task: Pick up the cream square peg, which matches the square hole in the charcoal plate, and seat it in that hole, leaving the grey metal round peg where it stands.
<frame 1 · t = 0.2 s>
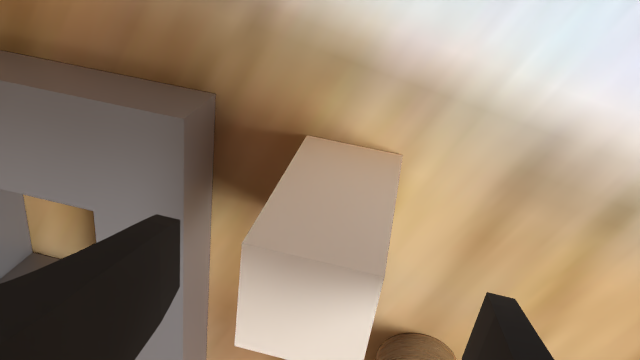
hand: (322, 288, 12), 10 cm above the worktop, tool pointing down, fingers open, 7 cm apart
square peg: (346, 187, 22), on the worktop
socket plate: (78, 218, 26), on the worktop
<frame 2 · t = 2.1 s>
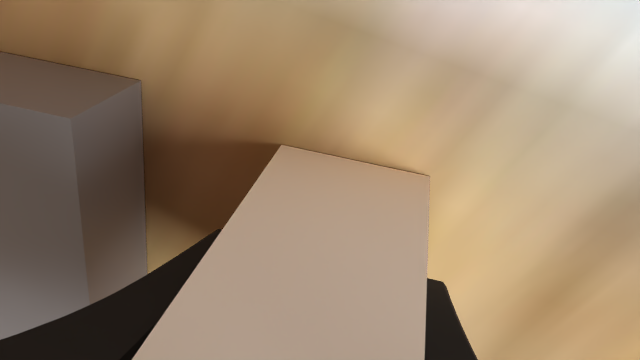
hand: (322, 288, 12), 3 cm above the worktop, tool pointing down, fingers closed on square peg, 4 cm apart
square peg: (342, 223, 14), on the worktop, touching gripper
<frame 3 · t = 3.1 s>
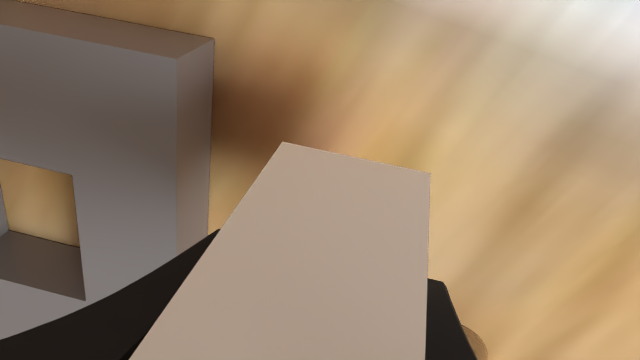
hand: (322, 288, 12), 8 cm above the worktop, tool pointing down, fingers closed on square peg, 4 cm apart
square peg: (343, 220, 14), point 5 cm above the worktop, touching gripper
socket plate: (59, 190, 23), on the worktop
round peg: (440, 355, 23), on the worktop
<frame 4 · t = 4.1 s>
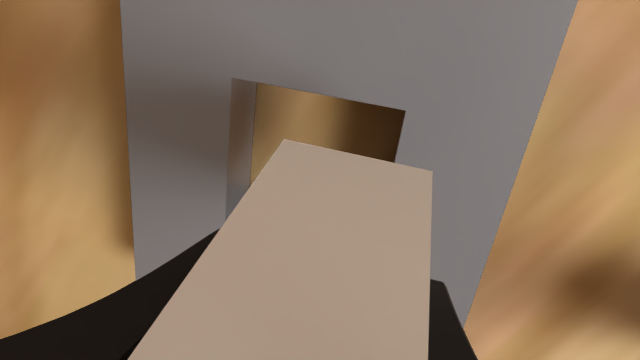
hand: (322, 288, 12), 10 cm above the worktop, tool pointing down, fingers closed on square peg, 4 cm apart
square peg: (344, 218, 14), point 7 cm above the worktop, touching gripper
socket plate: (323, 141, 21), on the worktop
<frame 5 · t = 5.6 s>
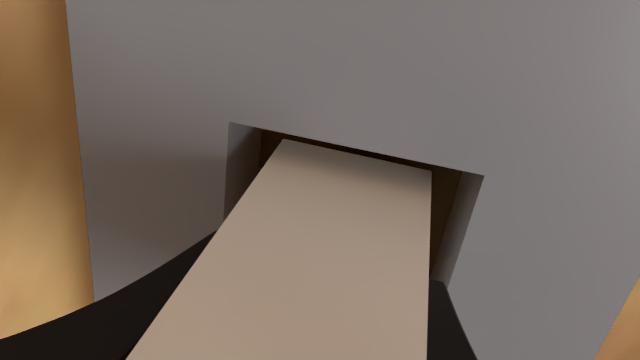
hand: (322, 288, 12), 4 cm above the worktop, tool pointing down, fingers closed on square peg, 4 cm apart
square peg: (343, 217, 14), point 1 cm above the worktop, touching gripper
socket plate: (350, 197, 16), on the worktop
when the fingers open (4 cm above the worktop, at t = 6.4 s): square peg drops 1 cm, resting in socket plate.
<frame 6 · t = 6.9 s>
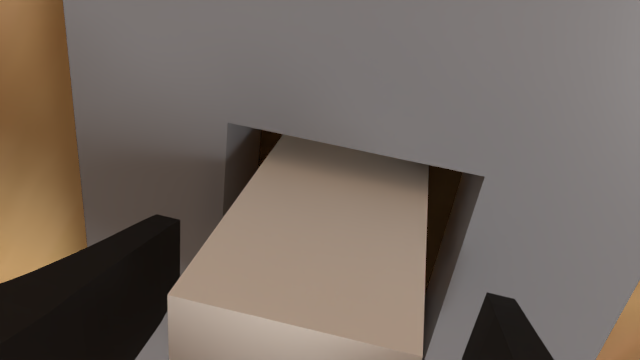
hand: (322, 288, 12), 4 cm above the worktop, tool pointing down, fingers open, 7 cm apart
square peg: (349, 193, 16), resting in socket plate
socket plate: (350, 198, 16), on the worktop
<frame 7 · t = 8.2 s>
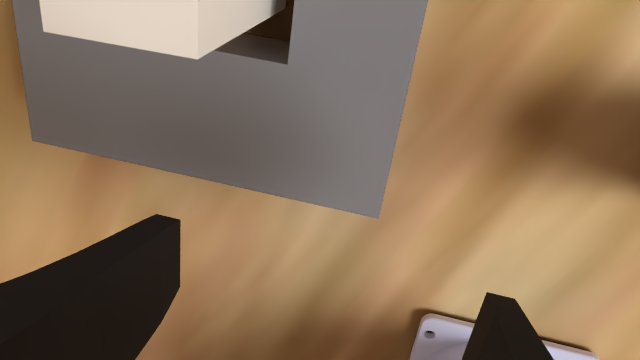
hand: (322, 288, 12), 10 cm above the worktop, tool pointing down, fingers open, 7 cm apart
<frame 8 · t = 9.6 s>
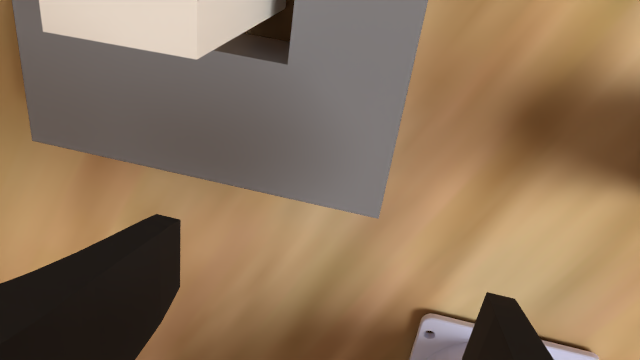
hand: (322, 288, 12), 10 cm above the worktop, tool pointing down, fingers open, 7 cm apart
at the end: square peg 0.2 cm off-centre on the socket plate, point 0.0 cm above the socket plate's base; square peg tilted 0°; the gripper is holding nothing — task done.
